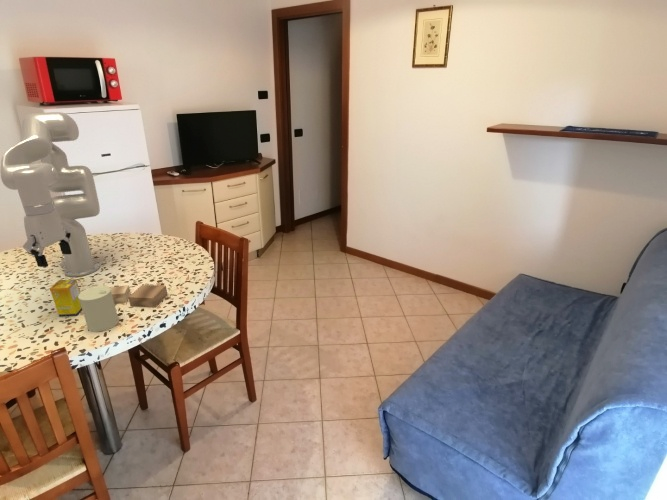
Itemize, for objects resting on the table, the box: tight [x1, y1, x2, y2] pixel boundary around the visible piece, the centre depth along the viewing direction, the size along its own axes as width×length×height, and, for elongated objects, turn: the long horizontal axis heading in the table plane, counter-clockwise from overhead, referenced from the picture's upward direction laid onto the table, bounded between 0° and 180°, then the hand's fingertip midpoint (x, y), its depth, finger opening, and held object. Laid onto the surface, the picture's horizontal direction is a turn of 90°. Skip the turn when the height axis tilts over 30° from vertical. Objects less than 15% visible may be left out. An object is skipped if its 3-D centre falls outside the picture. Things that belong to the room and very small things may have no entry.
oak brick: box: [110, 284, 132, 305], centre depth 146 cm, size 6×6×4 cm
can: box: [78, 285, 120, 333], centre depth 130 cm, size 9×9×12 cm
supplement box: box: [49, 278, 83, 318], centre depth 137 cm, size 6×6×11 cm
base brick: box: [128, 284, 168, 309], centre depth 145 cm, size 9×9×4 cm
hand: (55, 260), depth 131 cm, fingers open, 9 cm apart
